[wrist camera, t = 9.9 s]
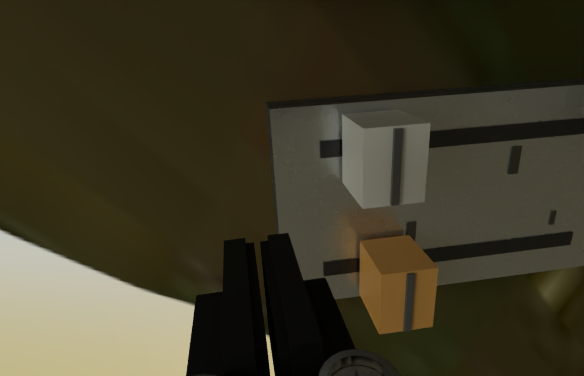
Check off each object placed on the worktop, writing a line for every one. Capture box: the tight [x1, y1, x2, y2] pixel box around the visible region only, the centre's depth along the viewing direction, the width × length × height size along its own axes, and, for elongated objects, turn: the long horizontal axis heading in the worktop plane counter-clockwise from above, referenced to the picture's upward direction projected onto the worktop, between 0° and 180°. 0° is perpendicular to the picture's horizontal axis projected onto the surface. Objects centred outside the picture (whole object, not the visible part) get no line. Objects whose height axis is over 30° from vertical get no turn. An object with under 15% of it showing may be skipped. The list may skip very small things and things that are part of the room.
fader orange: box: [359, 235, 438, 334], centre depth 23 cm, size 3×4×4 cm
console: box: [266, 78, 584, 299], centre depth 25 cm, size 23×13×3 cm, turn 93°
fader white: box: [342, 110, 431, 209], centre depth 20 cm, size 3×4×4 cm
